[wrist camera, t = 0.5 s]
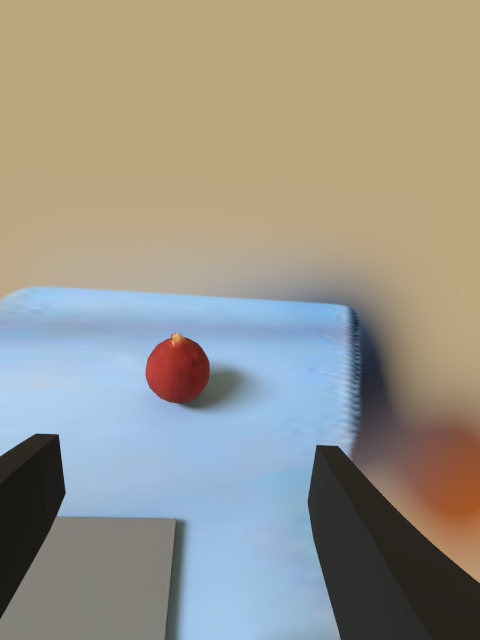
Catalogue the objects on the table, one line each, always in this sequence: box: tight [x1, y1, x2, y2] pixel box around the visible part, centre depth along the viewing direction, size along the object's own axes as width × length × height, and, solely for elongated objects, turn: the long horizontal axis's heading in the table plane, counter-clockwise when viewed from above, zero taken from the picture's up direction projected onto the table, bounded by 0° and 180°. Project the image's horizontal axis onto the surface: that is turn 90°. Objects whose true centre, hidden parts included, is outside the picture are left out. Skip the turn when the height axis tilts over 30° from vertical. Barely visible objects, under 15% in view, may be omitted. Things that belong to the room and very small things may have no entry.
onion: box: [146, 333, 210, 403], centre depth 33 cm, size 6×6×8 cm
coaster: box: [0, 517, 176, 640], centre depth 21 cm, size 10×10×1 cm
